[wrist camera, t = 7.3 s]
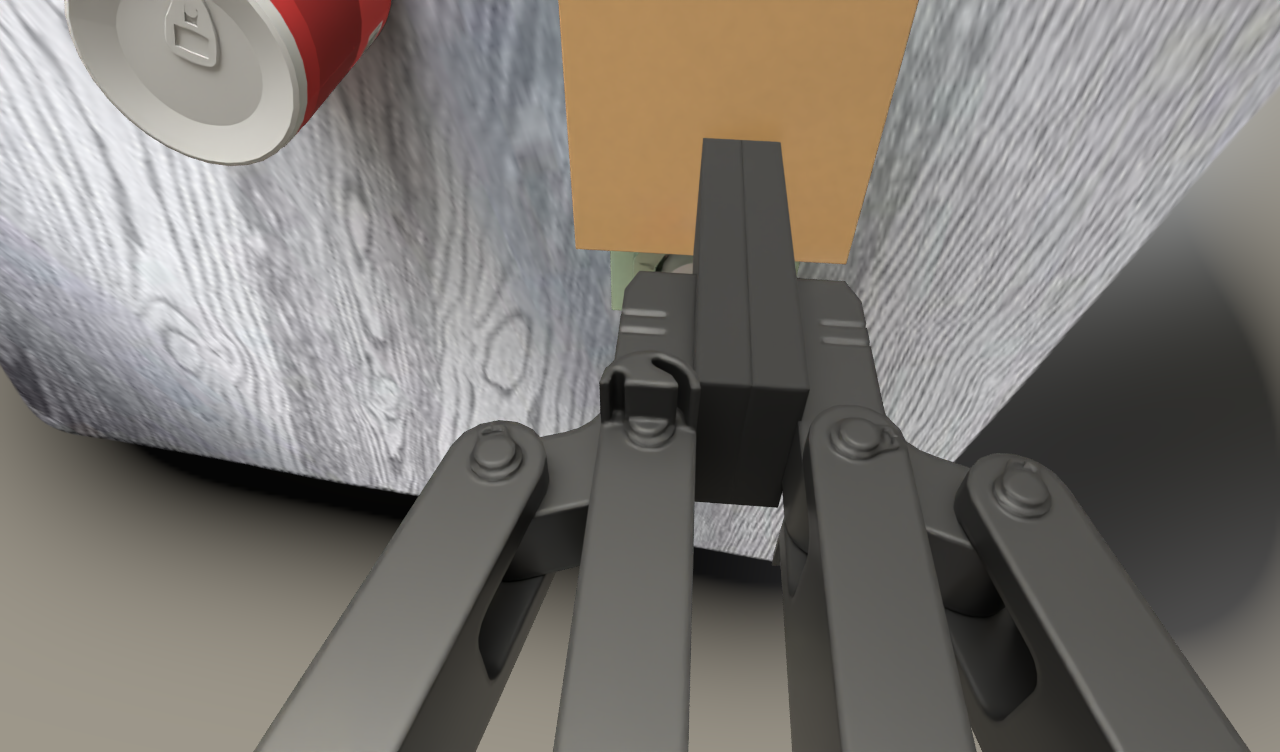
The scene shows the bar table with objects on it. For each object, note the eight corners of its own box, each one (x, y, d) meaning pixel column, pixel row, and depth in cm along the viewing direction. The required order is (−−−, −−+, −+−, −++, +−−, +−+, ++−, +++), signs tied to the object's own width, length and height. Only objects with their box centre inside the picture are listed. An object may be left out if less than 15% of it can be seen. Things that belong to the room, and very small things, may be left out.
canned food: (389, -132, 29) (272, -45, 22) (406, 63, 35) (319, 185, 28) (198, -168, 29) (11, -93, 22) (247, 34, 35) (114, 150, 27)
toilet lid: (550, -159, 21) (546, -154, 20) (953, -148, 20) (958, -141, 20) (577, 239, 31) (575, 249, 31) (844, 254, 31) (846, 265, 30)
